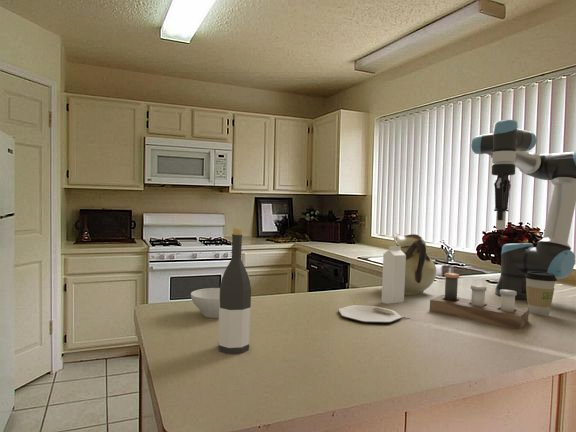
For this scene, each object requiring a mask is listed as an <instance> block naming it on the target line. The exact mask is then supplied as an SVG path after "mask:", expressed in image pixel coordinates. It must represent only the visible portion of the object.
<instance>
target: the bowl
mask: <svg viewBox="0 0 576 432" xmlns="http://www.w3.org/2000/svg"><path fill="white" fill-rule="evenodd" d="M190 298H191V302H192V303H193V305H194V306H195V307H196V308H197V309H198V310H199V311H200V312H201V314H202V316H204V317H206V318H211V319H213V318H214V319H216V318H217V319H219V301H220V287H210V288H201V289H196V290H193V291H191V292H190Z"/></svg>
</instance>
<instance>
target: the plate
mask: <svg viewBox="0 0 576 432" xmlns="http://www.w3.org/2000/svg"><path fill="white" fill-rule="evenodd" d="M375 309H381V310H385V311H390V312H392V313H393V314H392V313H388V312H384V311H380V310H375ZM337 311H338V312H339V313H340V316H341V317H342V318H345V319H349V320H353V321H355V322H356V321H357V322H360V323H365V324H366V323H371V324H372V323H373V324H375V323H376V324H389V323H390V324H391V323H393V322H396V321H398V320H401V319H402V315H400V314H399V312H397V311H395V310H394V309H389V308H385V307H380V306H377V305H358V304H357V305H356V304H354V305H348V306H345V307H340V308H338V310H337Z"/></svg>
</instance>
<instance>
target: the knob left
mask: <svg viewBox="0 0 576 432" xmlns="http://www.w3.org/2000/svg"><path fill="white" fill-rule="evenodd" d="M500 294H501V296H500V303H499V304H500V310H503V311H508V312H514V307H516V306H515V304H516V303H515V302H516V298H515V296H516V295H517V292H516V291H513V290H505V289H501V290H500Z"/></svg>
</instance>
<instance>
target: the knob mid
mask: <svg viewBox="0 0 576 432" xmlns="http://www.w3.org/2000/svg"><path fill="white" fill-rule="evenodd" d="M470 289H471V298H470V299H471V305H475V306H481V307H484V302H486V301H485V297H486V291H487V286H485V285H479V284H478V285H477V284H472V285H470Z"/></svg>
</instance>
